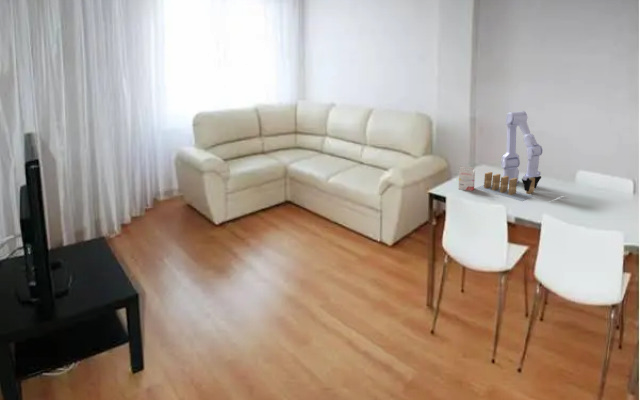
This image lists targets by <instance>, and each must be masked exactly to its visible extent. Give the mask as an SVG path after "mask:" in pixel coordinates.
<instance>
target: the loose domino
mask: <svg viewBox="0 0 640 400" xmlns="http://www.w3.org/2000/svg"><path fill="white" fill-rule="evenodd" d="M529 179H530V180H532V182H531V185H530V189H529V191H525V192H526V193H525V194H528V195H531V194H533V193H534V192H535V188H534V185H535V178H533V177H532V178H529Z"/></svg>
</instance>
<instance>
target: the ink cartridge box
mask: <svg viewBox="0 0 640 400" xmlns="http://www.w3.org/2000/svg"><path fill="white" fill-rule="evenodd" d="M474 168H475V167H471V166H459V171H458V187H457V188H458V190H462V191H471V192H473V191H474V190H475V178H476V170H475V169H474Z"/></svg>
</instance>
